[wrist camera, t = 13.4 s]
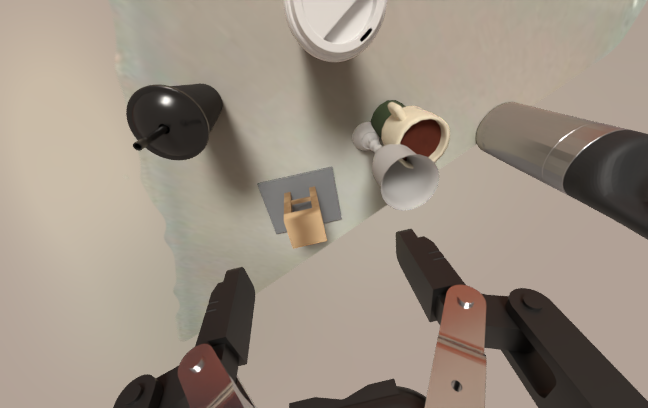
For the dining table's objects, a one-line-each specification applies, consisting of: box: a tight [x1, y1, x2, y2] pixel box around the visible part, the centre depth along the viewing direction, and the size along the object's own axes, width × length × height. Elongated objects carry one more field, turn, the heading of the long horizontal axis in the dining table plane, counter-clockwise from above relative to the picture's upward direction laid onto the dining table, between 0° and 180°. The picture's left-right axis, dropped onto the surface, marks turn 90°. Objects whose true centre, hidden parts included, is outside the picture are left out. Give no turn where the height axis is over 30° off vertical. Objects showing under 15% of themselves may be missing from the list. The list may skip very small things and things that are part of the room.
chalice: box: [352, 122, 439, 210], centre depth 35 cm, size 7×7×18 cm
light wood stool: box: [284, 186, 327, 249], centre depth 44 cm, size 6×6×9 cm
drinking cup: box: [126, 84, 222, 160], centre depth 28 cm, size 8×8×20 cm
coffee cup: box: [283, 0, 387, 62], centre depth 27 cm, size 10×10×15 cm
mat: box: [258, 167, 342, 234], centre depth 48 cm, size 14×12×1 cm
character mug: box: [371, 100, 450, 169], centre depth 36 cm, size 11×7×13 cm, turn 39°
